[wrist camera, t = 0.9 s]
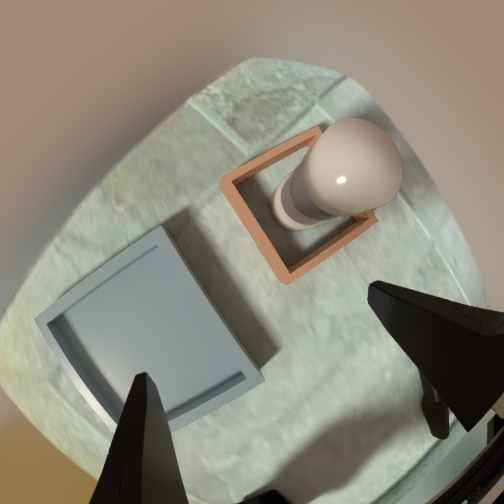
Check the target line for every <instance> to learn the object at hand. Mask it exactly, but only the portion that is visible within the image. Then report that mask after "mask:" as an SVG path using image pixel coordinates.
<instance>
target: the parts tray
mask: <svg viewBox="0 0 504 504" xmlns="http://www.w3.org/2000/svg"><path fill="white" fill-rule="evenodd" d="M34 320H35V322H36V324H37V325H38V327H39V329H40V331H41V333H42V334H43V336H44V338H45V340H46V341H47V343H48V345H49V346H50V348H51V350H52V351H53V353H54V354H55V356H56V358H57V359H58V361H59V362H60V364H61V365H62V367H63V368H64V370H65V371H66V373H67V374H68V376H69V377H70V379H71V380H72V381H73V383H74V384H75V386H76V387H77V388H78V390H79V391H80V392H81V394H82V395H83V396H84V398H85V399H86V400H87V402H88V403H89V404H90V406H91V407H92V408H93V409H94V411H95V412H96V413H97V414H98V415H99V417H100V418H101V419H102V420H103V421H104V423H105V424H106V425H107V426H108V427H109V428H110V429H111V431H112V432H113V433H115V430H116V427H117V424H118V421H119V419H120V416H121V413H122V410H123V407H124V404H125V402H126V399H127V396H128V393H129V391H130V388H131V385H132V382H133V380H134V377H135V375H136V374H139V373H142V372H147V373H148V374H149V376H150V377H151V379H152V380H153V381H154V383H155V384H156V386H157V389H158V392H159V395H160V398H161V402H162V405H163V408H164V411H165V414H166V417H167V421H168V424H169V427H170V432H173V431H175V430H177V429H179V428H181V427H183V426H185V425H187V424H189V423H191V422H193V421H195V420H197V419H199V418H201V417H203V416H205V415H207V414H209V413H210V412H212V411H214V410H216V409H218V408H220V407H221V406H223V405H225V404H227V403H229V402H230V401H232V400H234V399H236V398H237V397H239V396H241V395H243V394H244V393H246V392H248V391H249V390H251V389H253V388H254V387H256V386H258V385H259V384H261V383H263V382H264V381H265V380H264V378H263V375H262V373H261V370H260V369H259V367H258V366H257V365H256V363H255V362H254V360H253V359H252V358H251V356H250V355H249V353H248V352H247V351H246V349H245V348H244V346H243V345H242V344H241V342H240V341H239V339H238V338H237V336H236V335H235V333H234V332H233V331H232V329H231V328H230V326H229V325H228V323H227V322H226V320H225V319H224V317H223V316H222V315H221V313H220V312H219V310H218V309H217V307H216V306H215V304H214V303H213V301H212V300H211V298H210V297H209V295H208V294H207V292H206V290H205V289H204V287H203V286H202V284H201V283H200V281H199V280H198V278H197V277H196V275H195V273H194V272H193V270H192V269H191V267H190V266H189V264H188V262H187V261H186V259H185V258H184V256H183V254H182V253H181V251H180V250H179V248H178V246H177V245H176V243H175V242H174V240H173V238H172V237H171V235H170V233H169V232H168V230H167V228H165V227H163V226H161V225H160V226H159V227H157V228H156V229H154V230H153V231H151V232H150V233H148V234H147V235H145V236H144V237H142V238H141V239H139V240H138V241H136V242H135V243H134V244H132V245H131V246H129V247H128V248H126V249H125V250H123V251H122V252H121V253H119V254H118V255H116V256H115V257H114V258H112V259H111V260H109V261H108V262H107V263H105V264H104V265H103V266H101V267H100V268H98V269H97V270H96V271H94V272H93V273H92V274H90V275H89V276H88V277H86V278H85V279H84V280H82V281H81V282H80V283H78V284H77V285H76V286H75V287H73V288H72V289H71V290H69V291H68V292H67V293H66V294H64V295H63V296H62V297H60V298H59V299H58V300H57V301H55V302H54V303H53V304H52V305H50V306H49V307H48V308H47V309H46V310H44V311H43V312H42V313H41V314H39V315H38V316H37V317H36V318H35V319H34Z"/></svg>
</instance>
